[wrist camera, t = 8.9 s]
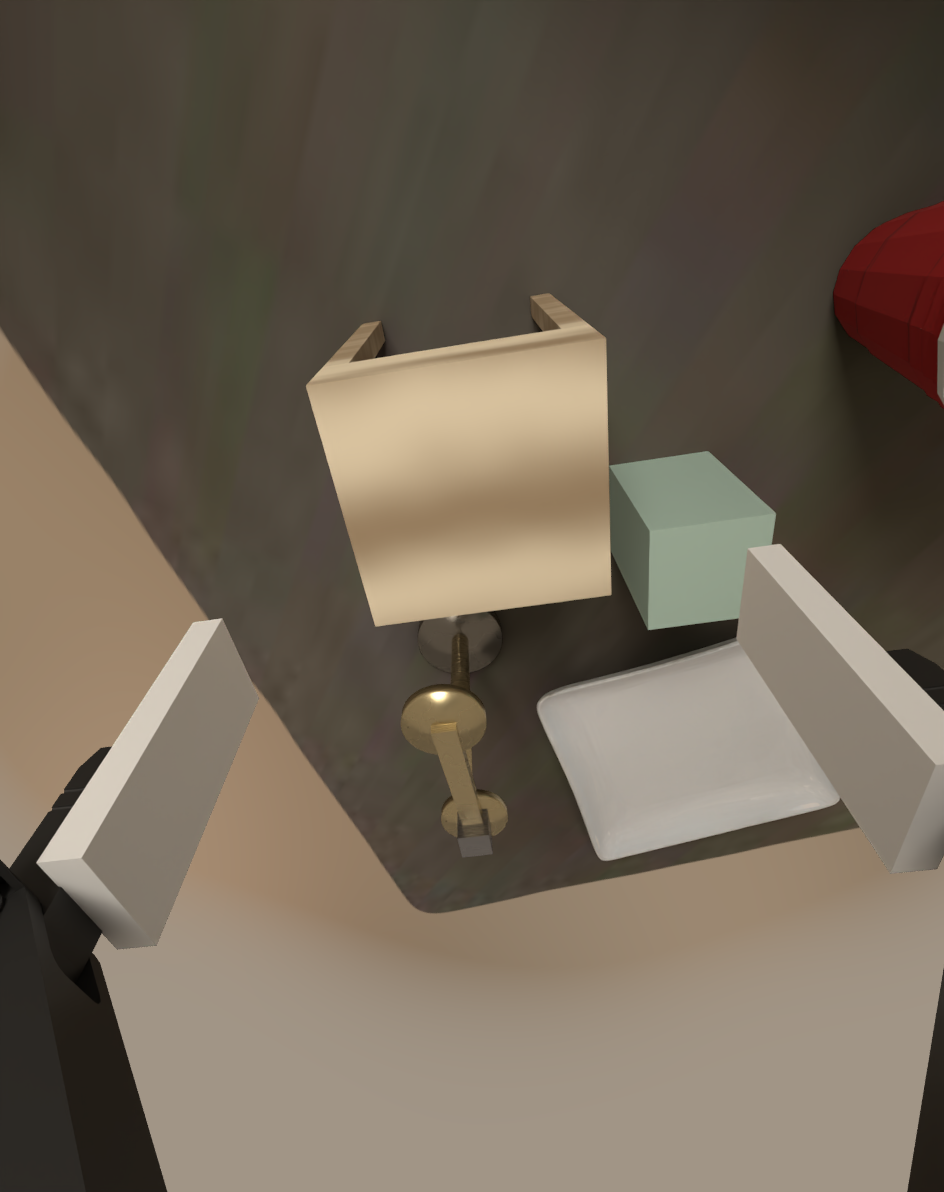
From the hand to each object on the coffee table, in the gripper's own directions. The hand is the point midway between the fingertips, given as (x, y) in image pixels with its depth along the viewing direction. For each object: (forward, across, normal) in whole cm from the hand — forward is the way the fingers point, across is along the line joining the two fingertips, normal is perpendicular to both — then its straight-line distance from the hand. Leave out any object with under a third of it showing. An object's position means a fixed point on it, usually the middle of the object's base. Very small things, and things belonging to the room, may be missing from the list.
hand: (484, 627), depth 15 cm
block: (+22, +11, -8) cm, 26 cm away
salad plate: (+23, +14, -29) cm, 39 cm away
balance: (+22, -3, -16) cm, 28 cm away
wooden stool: (+22, 0, 0) cm, 22 cm away
